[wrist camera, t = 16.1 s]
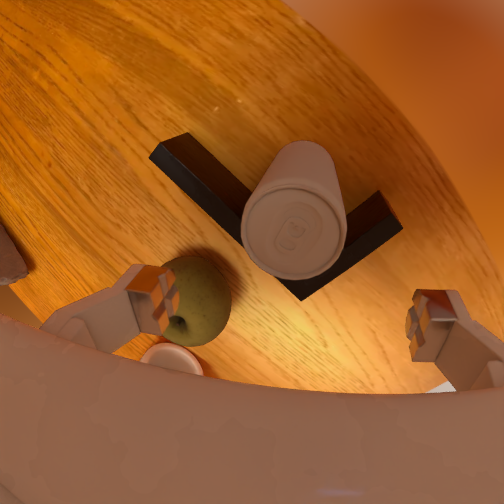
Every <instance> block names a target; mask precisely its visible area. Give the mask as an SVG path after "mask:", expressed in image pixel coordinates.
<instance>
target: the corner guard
mask: <svg viewBox="0 0 504 504" xmlns="http://www.w3.org/2000/svg"><path fill="white" fill-rule="evenodd" d="M149 159H150V160H151V161H152V162H153V163H154V164H155V165H156V166H157V167H158V168H160V169H161V170H162V171H163V172H164V173H165V174H166V175H167V176H168V177H169V178H170V179H171V180H172V181H173V182H174V183H175V184H177V185H178V186H179V187H180V188H181V189H182V190H183V191H184V192H185V193H186V194H187V195H188V196H189V197H190V198H191V199H192V200H193V201H195V202H196V203H197V204H198V205H199V206H200V207H201V208H202V209H203V210H204V211H205V212H206V213H207V214H208V215H209V216H210V217H212V218H213V219H214V220H215V221H216V222H217V223H218V224H219V225H220V226H221V227H222V228H223V229H224V230H225V231H226V232H227V233H229V234H230V235H231V236H232V237H233V238H234V239H235V240H236V241H237V242H238V243H239V244H240V245H241V246H242V247H243V248H244V245H243V242H242V238H241V222H242V215H243V212H244V208H245V205H246V203H247V201H248V200H249V198H250V196H251V195H252V193H251V192H250V191H249V190H248V189H247V188H246V187H245V186H244V185H243V184H242V183H241V182H240V181H239V180H238V179H237V178H236V177H235V176H234V175H233V174H232V173H231V172H230V171H229V170H227V169H226V168H225V167H224V166H223V165H222V164H221V163H220V162H219V161H218V160H217V159H216V158H215V157H214V156H213V155H212V154H211V153H209V152H208V151H207V150H206V149H205V148H204V147H203V146H202V145H201V144H200V143H199V142H198V141H197V140H195V139H194V138H193V137H192V136H191V135H190V134H189V133H188V132H187V133H184V134H182V135H179V136H176V137H173V138H171V139H168V140H165V141H163V142H160V143H159V144H158V145H157V147H156V148H155V149H154V151H153V152H152V154H151V155H150V156H149ZM346 222H347V232H346V238H345V242H344V247H343V249H342V251H341V254H340V256H339V258H338V259H337V260H336V261H335V263H334V264H333V265H332V266H331V267H330V268H329V269H327V270H326V271H324V272H323V273H321V274H320V275H317V276H314V277H311V278H308V279H301V280H289V279H282V278H279V277H276V276H274V277H275V278H276V279H278V280H279V281H280V282H281V283H282V284H283V285H284V286H285V287H286V288H287V289H288V290H289V291H290V292H291V293H292V294H294V295H295V296H296V297H297V298H298V299H299V300H300V301H303V300H304V299H306V298H307V297H309V296H310V295H312V294H313V293H315V292H316V291H317V290H319V289H320V288H322V287H323V286H325V285H326V284H328V283H329V282H330V281H332V280H333V279H335V278H336V277H338V276H339V275H341V274H342V273H343V272H345V271H346V270H348V269H349V268H351V267H352V266H353V265H355V264H356V263H358V262H359V261H360V260H362V259H363V258H364V257H366V256H367V255H369V254H370V253H371V252H373V251H374V250H375V249H377V248H378V247H380V246H381V245H382V244H384V243H385V242H386V241H388V240H389V239H390V238H392V237H393V236H394V235H396V234H397V233H398V232H400V231H401V230H402V229H403V226H402V225H401V223H400V221H399V219H398V217H397V216H396V214H395V212H394V210H393V208H392V207H391V205H390V203H389V202H388V201H387V199H386V198H385V197H384V195H383V194H382V193H381V192H380V190H378V191H377V192H376V193H374V194H373V195H372V196H371V197H369V198H368V199H367V200H366V201H364V202H363V203H362V204H361V205H359V206H358V207H357V208H356V209H354V210H353V211H352V212H351V213H349V214H348V215H347V216H346Z"/></svg>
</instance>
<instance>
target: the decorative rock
mask: <svg viewBox="0 0 504 504" xmlns="http://www.w3.org/2000/svg"><path fill="white" fill-rule="evenodd" d="M28 274H29V272H28V269H27V266H26V264H25V262H24V260H23V258H22V257H21V255H20V254H19V253H18V251H17V250H16V248H15V245H14V243H13V242H12V240H11V239H10V238H9V237H8V234H7V233H6V230H5V228H4V227H3V226H2V224H0V285H9V284H11V283H16V281H17V280H18V279H22V278H25V277H26V276H27V275H28Z"/></svg>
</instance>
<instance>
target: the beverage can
mask: <svg viewBox="0 0 504 504" xmlns="http://www.w3.org/2000/svg"><path fill="white" fill-rule="evenodd" d="M346 232H347V222H346V214H345V209H344V205H343V200H342V196H341V191H340V187H339V183H338V178H337V174H336V170H335V166H334V162H333V160H332V158H331V156H330V154H329V153H328V152H327V151H326V150H325V149H324V148H323V147H321V146H320V145H318V144H316V143H314V142H311V141H302V140H301V141H295V142H292V143H290V144H288V145H286V146H284V147H283V148H282V149H281V150H280V151H279V152H278V154H277V155H276V157H275V159H274V160H273V162H272V163H271V165H270V167H269V168H268V170H267V171H266V173H265V174H264V176H263V178H262V179H261V181H260V182H259V184H258V185H257V187H256V188H255V190H254V192H253V193H252V195H251V196H250V198H249V200H248V201H247V203H246V205H245V208H244V212H243V215H242V222H241V238H242V242H243V245H244V249H245V250H246V252H247V254H248V255H249V257H250V259H251V260H252V261H253V262H254V263H255V264H256V265H257V266H258V267H259V268H261V269H262V270H264V271H265V272H267V273H269V274H270V275H273V276H276V277H279V278H282V279H289V280H301V279H308V278H311V277H314V276H317V275H320V274H321V273H323V272H324V271H326V270H327V269H329V268H330V267H331V266H332V265H333V264H334V263H335V261H336V260H337V259H338V258H339V256H340V254H341V251H342V249H343V247H344V242H345V238H346Z"/></svg>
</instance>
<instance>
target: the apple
mask: <svg viewBox="0 0 504 504" xmlns="http://www.w3.org/2000/svg"><path fill="white" fill-rule="evenodd" d="M161 267H166V268H172V269H173V270H174V271H175V276H176V280H175V282H174V283H173V284H174V285H175V286H176V287H177V288H178V291H179V305H178V309H177V311H176V313H175V315H173V316H171V317H170V318H168V319H169V325H168V327H167V328H166V330H165V332H164V333H163V335H162V336H164V337H165V338H166V339H168V340H170V341H172V342H173V343H176V344H178V345H182V346H187V347H194V346H200V345H204V344H206V343H208V342H210V341H212V340H213V339H215V338H216V337H217V336H218V335H219V334H220V333H221V332H222V330H223V329H224V327H225V326H226V324H227V322H228V319H229V316H230V312H231V294H230V289H229V286H228V284H227V282H226V280H225V279H224V277H223V276H222V274H221V273H220V272H219V271H218V270H217V268H216V267H215V266H214V265H212V264H211V263H210V262H209V261H207V260H205V259H203V258H201V257H197V256H184V257H180V258H176V259H173V260H171V261H169V262H166V263H165V264H164V265H162V266H161Z"/></svg>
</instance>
